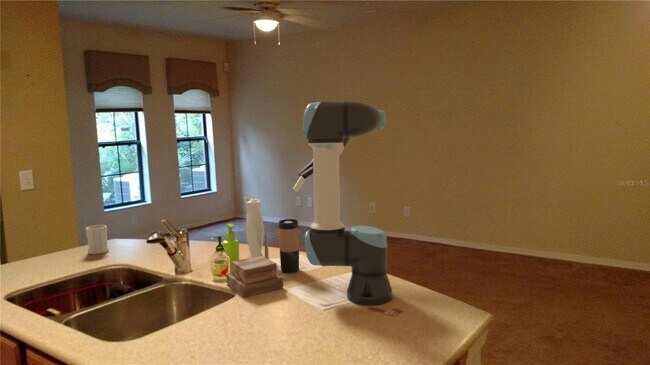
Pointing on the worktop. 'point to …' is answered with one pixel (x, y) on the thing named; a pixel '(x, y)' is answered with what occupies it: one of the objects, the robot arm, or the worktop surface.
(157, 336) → the worktop surface
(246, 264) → the stack of brown boxes
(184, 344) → the worktop surface
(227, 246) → the soap dispenser
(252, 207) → the white twisted vase
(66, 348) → the worktop surface
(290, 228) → the travel mug
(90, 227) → the cup
